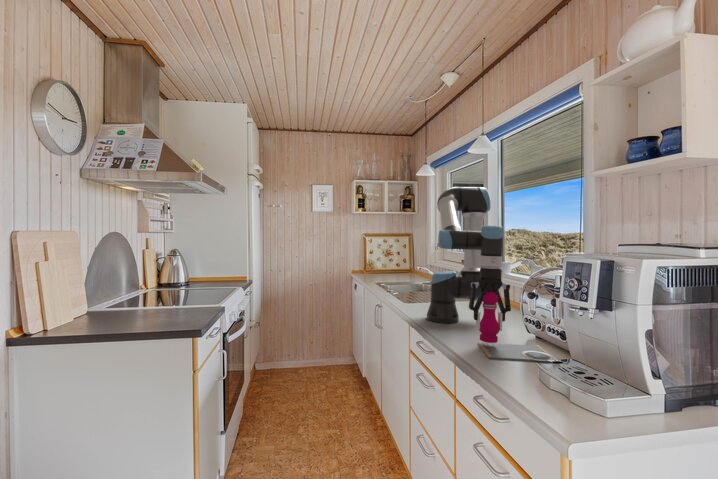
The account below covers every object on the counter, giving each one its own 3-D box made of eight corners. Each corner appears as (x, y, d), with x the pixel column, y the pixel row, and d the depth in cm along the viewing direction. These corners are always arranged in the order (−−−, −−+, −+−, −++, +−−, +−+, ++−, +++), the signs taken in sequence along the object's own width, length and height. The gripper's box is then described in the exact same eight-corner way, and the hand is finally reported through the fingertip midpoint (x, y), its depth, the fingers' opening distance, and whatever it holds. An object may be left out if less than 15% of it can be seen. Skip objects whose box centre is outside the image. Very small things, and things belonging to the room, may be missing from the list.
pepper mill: (495, 338, 135) (497, 285, 135) (501, 344, 128) (503, 288, 128) (476, 337, 136) (477, 284, 136) (480, 342, 129) (482, 287, 128)
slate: (477, 344, 135) (477, 342, 135) (538, 347, 133) (538, 345, 133) (490, 360, 118) (490, 357, 118) (559, 363, 116) (559, 361, 116)
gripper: (465, 267, 129) (463, 330, 129) (522, 269, 127) (520, 333, 127) (460, 265, 136) (459, 325, 137) (515, 267, 134) (513, 328, 135)
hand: (488, 329), depth 132 cm, fingers closed on pepper mill, 7 cm apart
